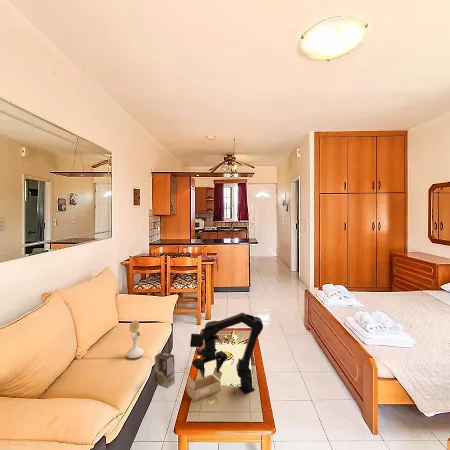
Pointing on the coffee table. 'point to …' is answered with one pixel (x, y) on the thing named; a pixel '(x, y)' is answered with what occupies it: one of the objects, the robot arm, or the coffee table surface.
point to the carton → (204, 387)
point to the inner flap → (217, 374)
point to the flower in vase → (134, 341)
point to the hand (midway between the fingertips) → (210, 375)
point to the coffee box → (164, 369)
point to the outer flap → (191, 382)
